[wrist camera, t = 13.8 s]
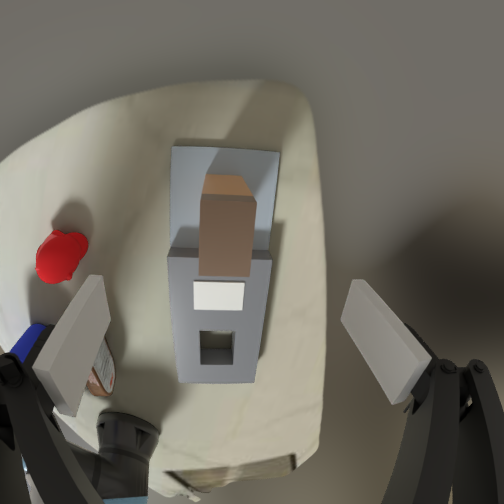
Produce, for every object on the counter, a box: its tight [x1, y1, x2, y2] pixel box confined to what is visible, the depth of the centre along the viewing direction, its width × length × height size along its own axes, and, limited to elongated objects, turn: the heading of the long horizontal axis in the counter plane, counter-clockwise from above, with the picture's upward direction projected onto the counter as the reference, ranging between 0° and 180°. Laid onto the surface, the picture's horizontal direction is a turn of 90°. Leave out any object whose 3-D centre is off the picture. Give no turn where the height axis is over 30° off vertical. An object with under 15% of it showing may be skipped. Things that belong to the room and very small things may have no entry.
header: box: [167, 247, 272, 384], centre depth 37 cm, size 12×22×4 cm, turn 175°
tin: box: [86, 336, 116, 396], centre depth 35 cm, size 15×3×8 cm, turn 179°
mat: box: [170, 146, 280, 250], centre depth 32 cm, size 12×12×1 cm
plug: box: [199, 174, 257, 277], centre depth 26 cm, size 4×6×12 cm, turn 175°
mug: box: [10, 324, 46, 363], centre depth 33 cm, size 8×12×10 cm
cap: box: [35, 230, 88, 284], centre depth 29 cm, size 8×6×6 cm
